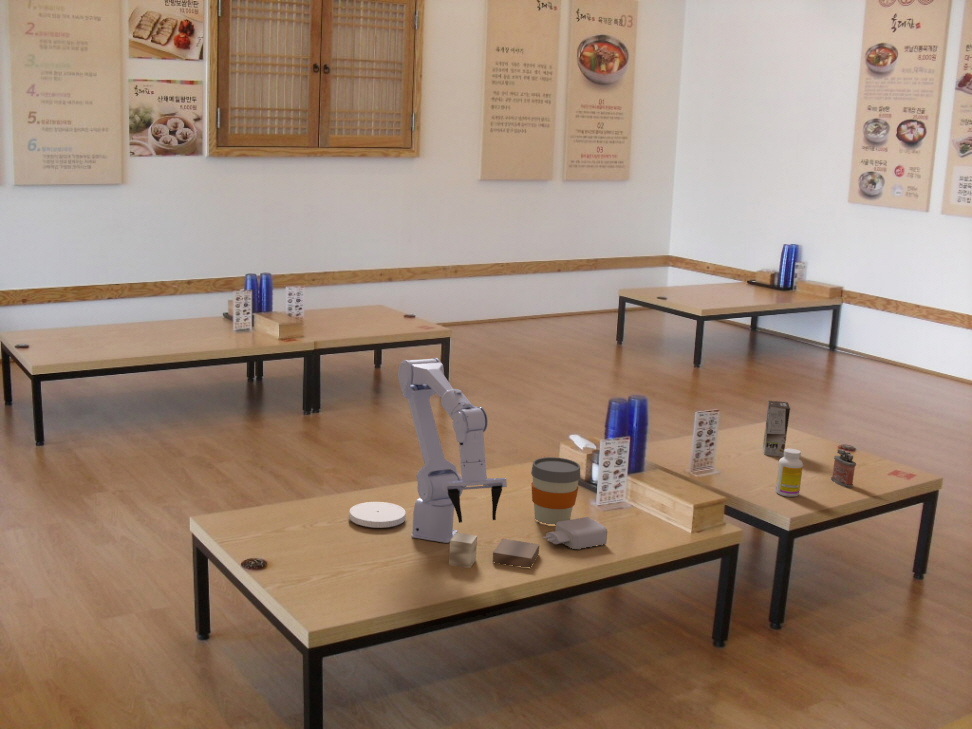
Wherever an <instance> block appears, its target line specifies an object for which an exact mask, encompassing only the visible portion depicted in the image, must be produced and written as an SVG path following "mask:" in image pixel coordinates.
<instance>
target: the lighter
mask: <svg viewBox="0 0 972 729" xmlns="http://www.w3.org/2000/svg"><path fill="white" fill-rule="evenodd" d="M837 454H839V455H834V458H833V459H834V461H833V469H832V475H831V477H830V478H831V479H830V481H831V480H832V481H831V482H833V483H834V482H835V484H837V485H838V486H841V487H843V488H846V489H852V487H854V484H853V483H854V482H853V481H854V476H855V469H856V466H857V463H856V462H855V461H854V460H853V459H854V454H852V453H851V452H850V451H846V450H843V449H841V448H838V449H837Z"/></svg>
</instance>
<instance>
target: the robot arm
mask: <svg viewBox="0 0 972 729" xmlns="http://www.w3.org/2000/svg"><path fill="white" fill-rule="evenodd" d="M444 371H445V369H444V365H443V363H442V361H441V360H440V359H439V358H438V357H433V358H425V359H423V358H421V359H403V360H402V361H401V362H400V364H399V366H398V372H397V378H398V382H399V385H400V386H399V387H400V390H401V394H402V396H403V397H404V398H406V399H407V402H408V406H409V410H410V413H411V414H410V415H411V418H412V422H413V425H414V426H413V427H414V429H415V433H416V438H417V441H418V445H419V449H420V452H421V456H422V460H423V464H424V465H422V467H420V469H419V470H418V472H417V474H416V480H417V482H416V483H417V493H418V494H417V495H418V496H419V497H418V498H417V499H416V500H415V503H414V508H413V515H412V517H413V518H412V531H411V532H412V533H411V536H410V537H411V538H413V539H414V538H415V539H418V540H420V539H421V540H426V541H432V542H438V543H439V542H440V543H446V544H448V543H449V544H450V540H451V539H452V537H453V536H454V535H455V534H456V533H458V529H454V514H455V513H456V515H457V519H458V520H457V521H458V523H463V516H462V509H461V499H460V498H461V495H462V494H463V491H465V490H479V489H481V490H482V489H490V490H491V491H490V492H491V506H492V507H491V508H492V512H491V515H492V521H496V520H497V518H496V517H497V509H498V505H499V502H500V497H501V494H502V492H503V488H507V487H508V484H507V478H506V477H495V478H491V477H490V478H488V476H487V464H486V463H487V462H486V450H485V437H484V436H485V435H484V433H485V432H486V431H487V429H488V425H489V421H488V420H489V419H488V415H487V412H486V410H485V409H484V407H482V406H477V405H474V404H472V402H471V401H470V400H469V399H468V397H467V396H466V395H465V394H464V393H463V391H462V390H461V389H458V388H453V386H452V385H451V383H450V382H449V380H448V379H447V378H446V376H445V372H444ZM434 395H437V396H439V398H440V406H441V407H442V409H443V410H444V411H445V412H446V413H447V415H448V416H449V417H450V419H451V420H452V427H453V430H454V433H455V438H456V441H457V443H458V448H459V459H460V474H459V472H458V469H457V466H456V465H455V464H454V463H452V462H451V461H449V460H447V459H446V458H445V453H444V451H443V450H444V449H443V446H442V444H441V440H440V436H439V432H438V428H437V424H436V421H435V415H434V414H433V410H432V406H431V402H430V398H431V397H432V396H434ZM460 475H461V476H460ZM454 511H455V512H454Z"/></svg>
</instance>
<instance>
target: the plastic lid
mask: <svg viewBox="0 0 972 729" xmlns="http://www.w3.org/2000/svg"><path fill="white" fill-rule="evenodd" d="M348 514H349V515H348V517H349V520H350V521H351V522H352V523H354V524H356V525H358V526H359V525H360V526H363V527H366V528H367V527H368V528H373V529H375V528H377V529H378V528H382V529H383V528H391V527H397V526H398V525H401V524H403V523H404V522H405V521H406V518H407V515H406V514H407V512H406V510H405V508H403V507H402V506H400V505H398V504H396V503H391V502H386V501H384V502H383V501H368V502H361V503H357V504H355V505H353V506H351V507H350V509H349V512H348Z"/></svg>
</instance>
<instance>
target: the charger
mask: <svg viewBox="0 0 972 729" xmlns="http://www.w3.org/2000/svg"><path fill="white" fill-rule="evenodd" d="M554 530H555V531H550V532H546V533H545V535H546V536H543V537H542V538H543V539H546V541H547V542H551V543H553V544H554V545H558V544H563V543H564V544H565V545H564V544H563V545H564V546H566V545H567V546H569V547H570V548H569V547H568V548H569V549H571V548H572V549H571V550H573V549H579V550H582V549H581V548H585V549H587V548H586V547H590V548H593V547H592V546H596V545H601V546H603V545H602V544H606V545H607V539H608V529H607V527H606V526H605V525H603V524H602V523H600V522H598V521H596V520H595V519H593V518H591V517H589V516H585V517H580V518H579V517H578V518H574V519H573V518H572V519H570V520H566V521H560V522H557V523H556V527H555V529H554ZM567 546H566V547H567ZM596 547H597V546H596Z"/></svg>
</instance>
